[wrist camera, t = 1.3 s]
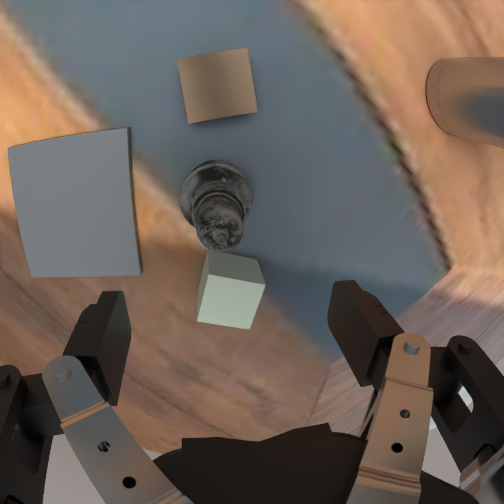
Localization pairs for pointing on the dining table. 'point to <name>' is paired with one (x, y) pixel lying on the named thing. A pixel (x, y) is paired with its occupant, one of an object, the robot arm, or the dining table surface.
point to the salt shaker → (216, 203)
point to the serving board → (77, 205)
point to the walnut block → (217, 85)
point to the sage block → (229, 290)
